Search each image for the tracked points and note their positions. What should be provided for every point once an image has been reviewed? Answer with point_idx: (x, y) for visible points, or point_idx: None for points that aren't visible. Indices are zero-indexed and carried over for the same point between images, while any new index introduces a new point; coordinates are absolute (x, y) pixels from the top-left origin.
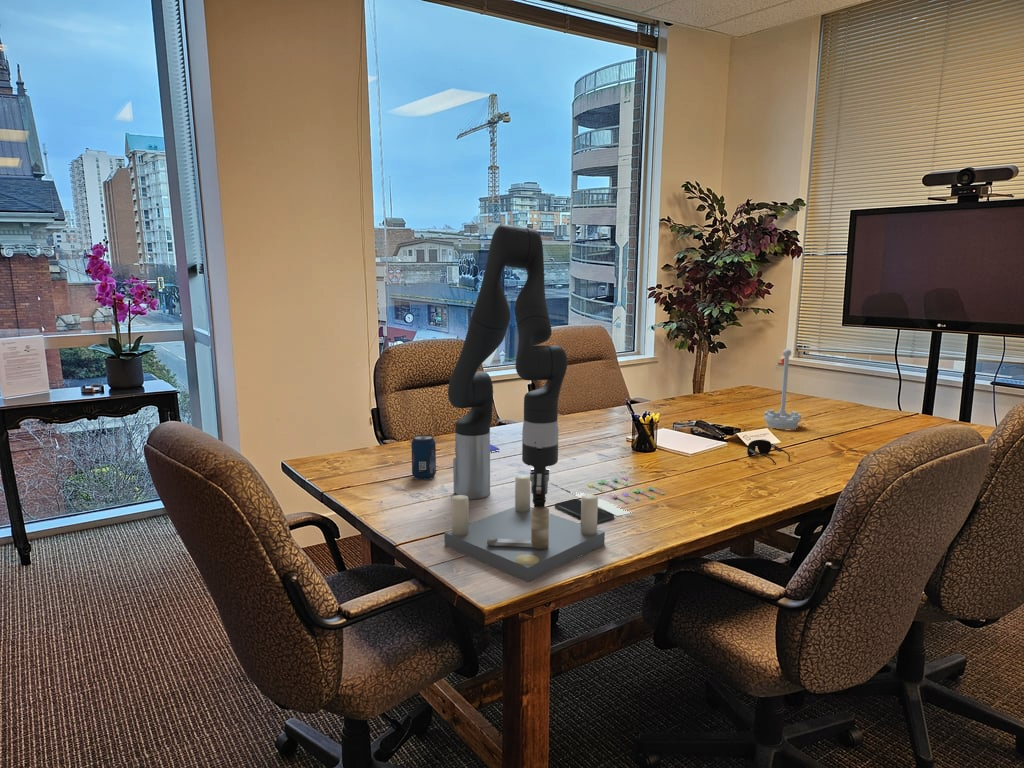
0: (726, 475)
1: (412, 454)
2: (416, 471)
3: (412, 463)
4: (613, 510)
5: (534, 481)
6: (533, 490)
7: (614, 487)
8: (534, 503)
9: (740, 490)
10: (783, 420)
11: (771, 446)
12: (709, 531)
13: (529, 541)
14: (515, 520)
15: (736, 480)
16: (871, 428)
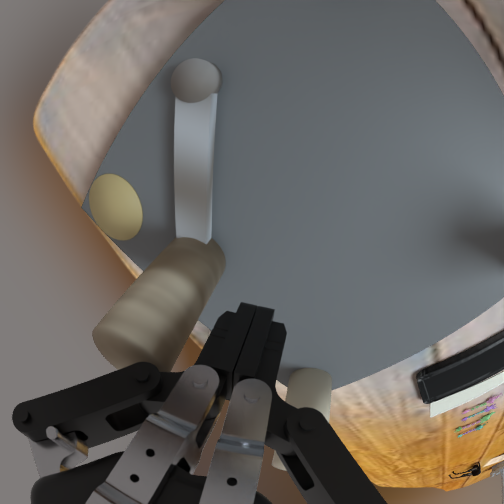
0: (458, 459)
1: None
2: None
3: None
4: (453, 399)
5: (65, 474)
6: (20, 406)
7: None
8: (142, 366)
9: (420, 466)
10: (496, 471)
11: (471, 473)
12: None
13: (190, 231)
14: (464, 206)
15: (443, 463)
16: (460, 484)
